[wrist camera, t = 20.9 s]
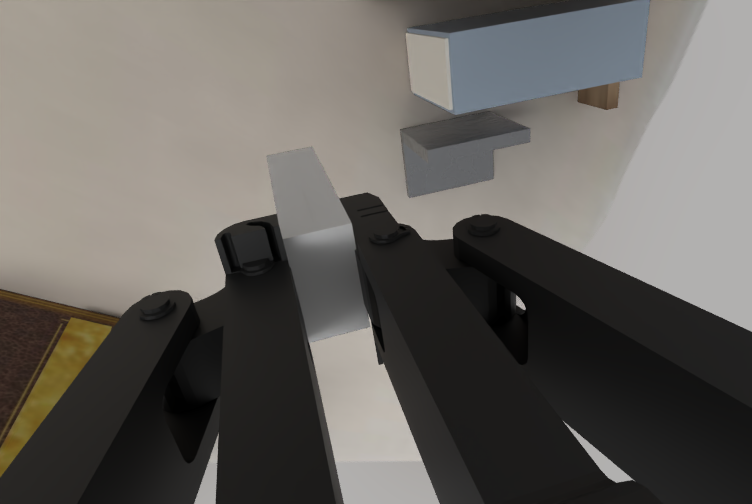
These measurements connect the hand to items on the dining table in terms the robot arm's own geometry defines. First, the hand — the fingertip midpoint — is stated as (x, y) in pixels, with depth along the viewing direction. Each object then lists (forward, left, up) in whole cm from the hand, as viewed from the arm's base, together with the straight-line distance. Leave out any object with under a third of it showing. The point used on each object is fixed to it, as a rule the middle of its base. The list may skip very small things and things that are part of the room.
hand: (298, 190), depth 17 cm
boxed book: (0, +19, -25) cm, 31 cm away
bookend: (+8, +14, -24) cm, 29 cm away
